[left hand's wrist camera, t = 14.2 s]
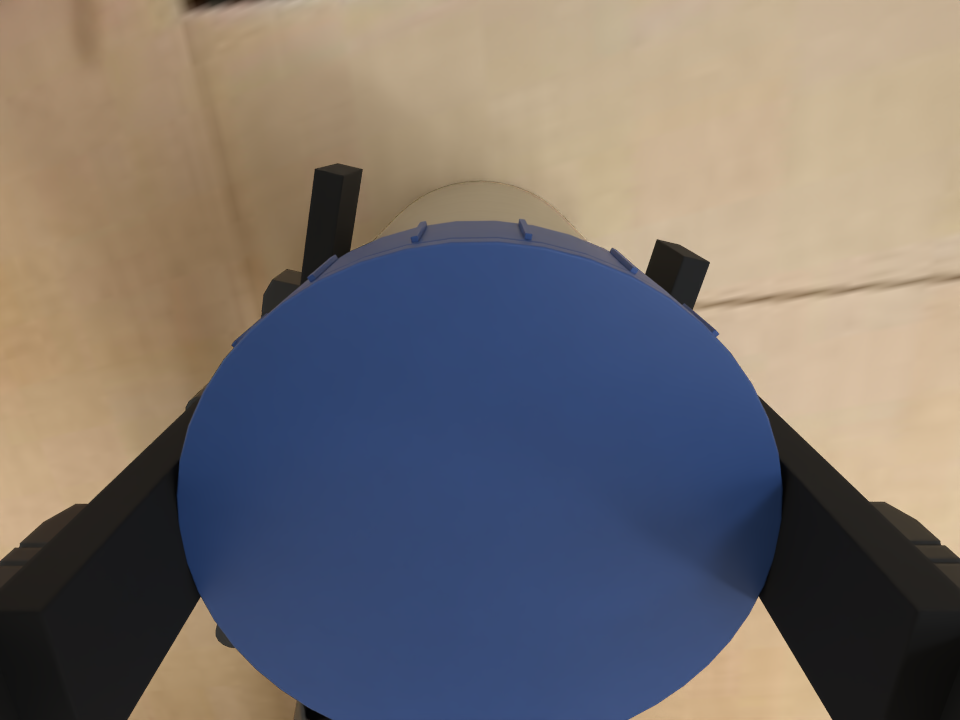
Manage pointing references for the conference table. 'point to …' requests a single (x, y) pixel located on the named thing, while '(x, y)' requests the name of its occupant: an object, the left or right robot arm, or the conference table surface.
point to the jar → (480, 208)
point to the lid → (479, 483)
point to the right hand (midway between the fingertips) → (514, 210)
